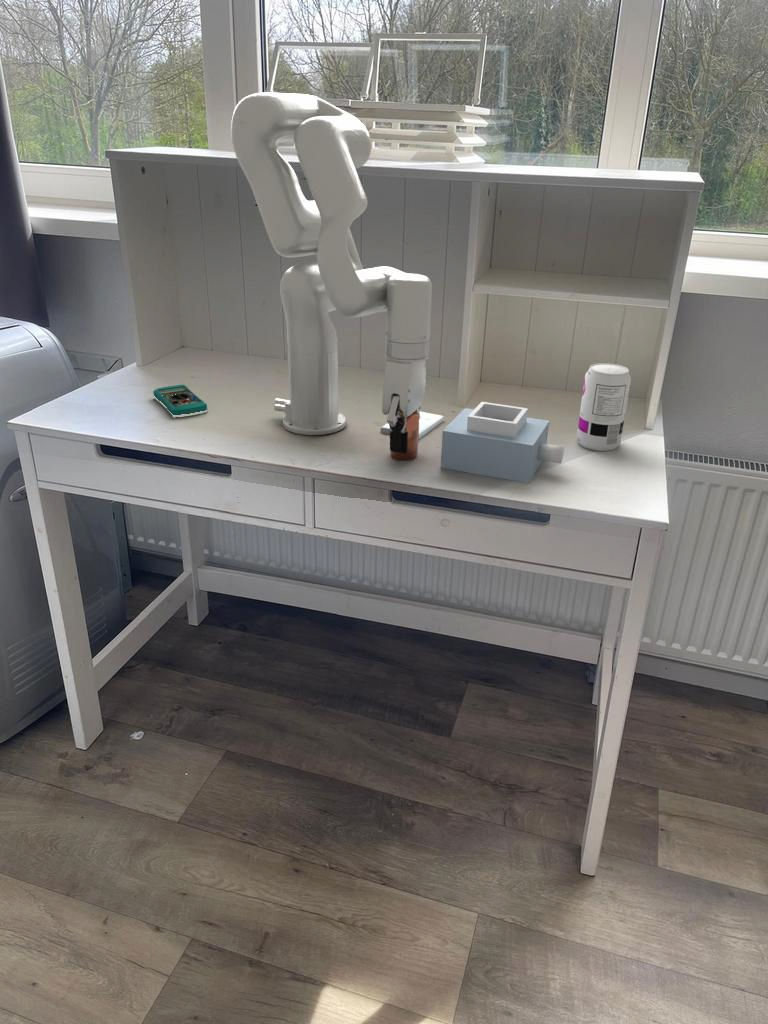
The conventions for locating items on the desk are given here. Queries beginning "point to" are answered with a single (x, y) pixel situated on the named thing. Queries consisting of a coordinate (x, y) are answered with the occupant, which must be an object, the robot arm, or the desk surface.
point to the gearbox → (498, 443)
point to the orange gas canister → (409, 438)
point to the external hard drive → (421, 423)
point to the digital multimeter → (179, 400)
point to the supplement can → (603, 406)
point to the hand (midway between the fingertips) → (404, 445)
